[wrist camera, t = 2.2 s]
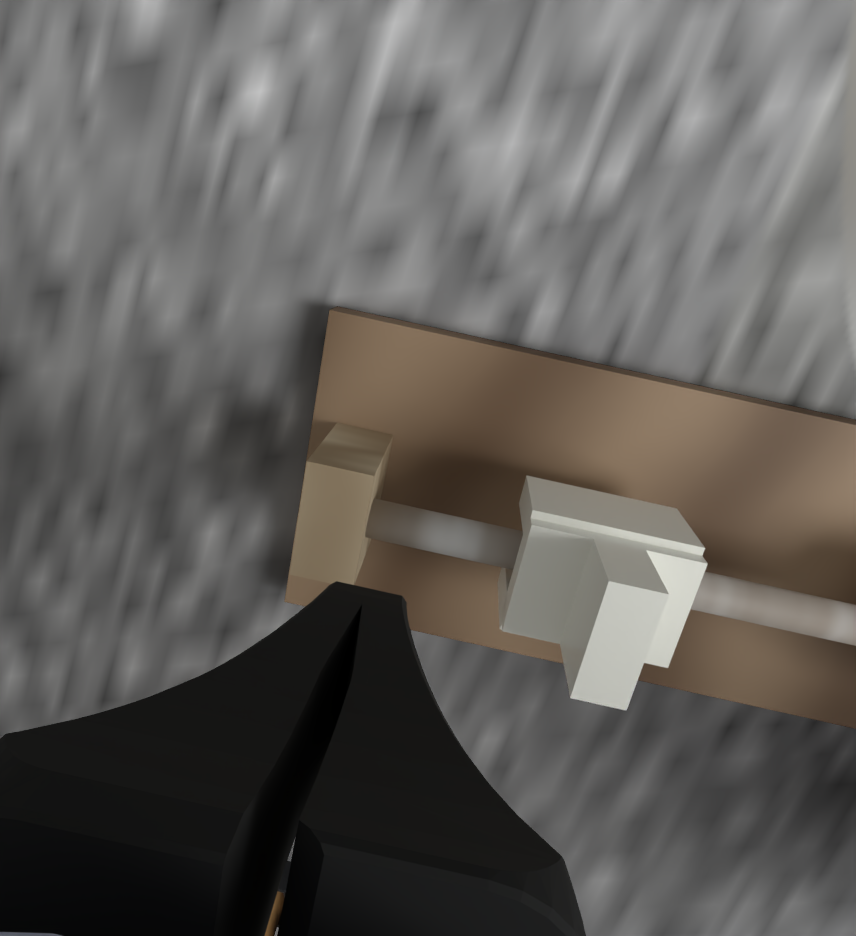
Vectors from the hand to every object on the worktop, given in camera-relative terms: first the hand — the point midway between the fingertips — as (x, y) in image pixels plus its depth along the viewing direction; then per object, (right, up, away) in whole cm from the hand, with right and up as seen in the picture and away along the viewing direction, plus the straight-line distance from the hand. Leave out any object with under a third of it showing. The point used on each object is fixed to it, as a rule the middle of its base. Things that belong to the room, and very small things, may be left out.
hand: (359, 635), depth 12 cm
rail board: (+9, +1, +8) cm, 13 cm away
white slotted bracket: (+5, +1, +6) cm, 8 cm away
